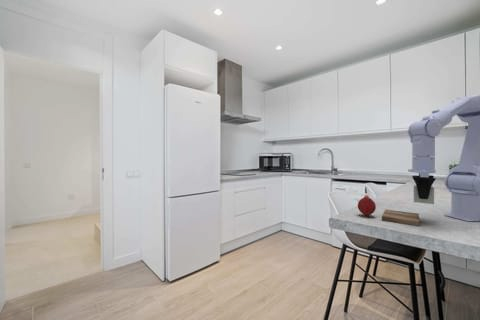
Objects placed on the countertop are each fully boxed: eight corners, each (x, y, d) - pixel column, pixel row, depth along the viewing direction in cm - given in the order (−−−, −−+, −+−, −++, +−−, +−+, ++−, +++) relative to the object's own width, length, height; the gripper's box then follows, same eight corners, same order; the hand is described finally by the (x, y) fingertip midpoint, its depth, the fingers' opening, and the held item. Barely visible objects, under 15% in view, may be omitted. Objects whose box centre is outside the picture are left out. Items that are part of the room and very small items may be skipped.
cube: (413, 199, 75) (413, 185, 75) (432, 201, 72) (432, 186, 72) (413, 202, 71) (413, 187, 71) (434, 204, 68) (434, 188, 68)
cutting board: (385, 213, 84) (385, 209, 84) (418, 217, 78) (418, 213, 78) (381, 220, 74) (381, 216, 74) (419, 226, 68) (419, 221, 68)
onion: (378, 218, 77) (378, 196, 76) (360, 218, 78) (360, 196, 78) (372, 214, 82) (372, 193, 82) (355, 213, 83) (355, 193, 83)
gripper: (408, 156, 80) (407, 193, 80) (407, 156, 68) (407, 199, 68) (433, 156, 75) (433, 195, 75) (438, 156, 64) (437, 202, 64)
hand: (423, 197), depth 72 cm, fingers closed on cube, 5 cm apart
